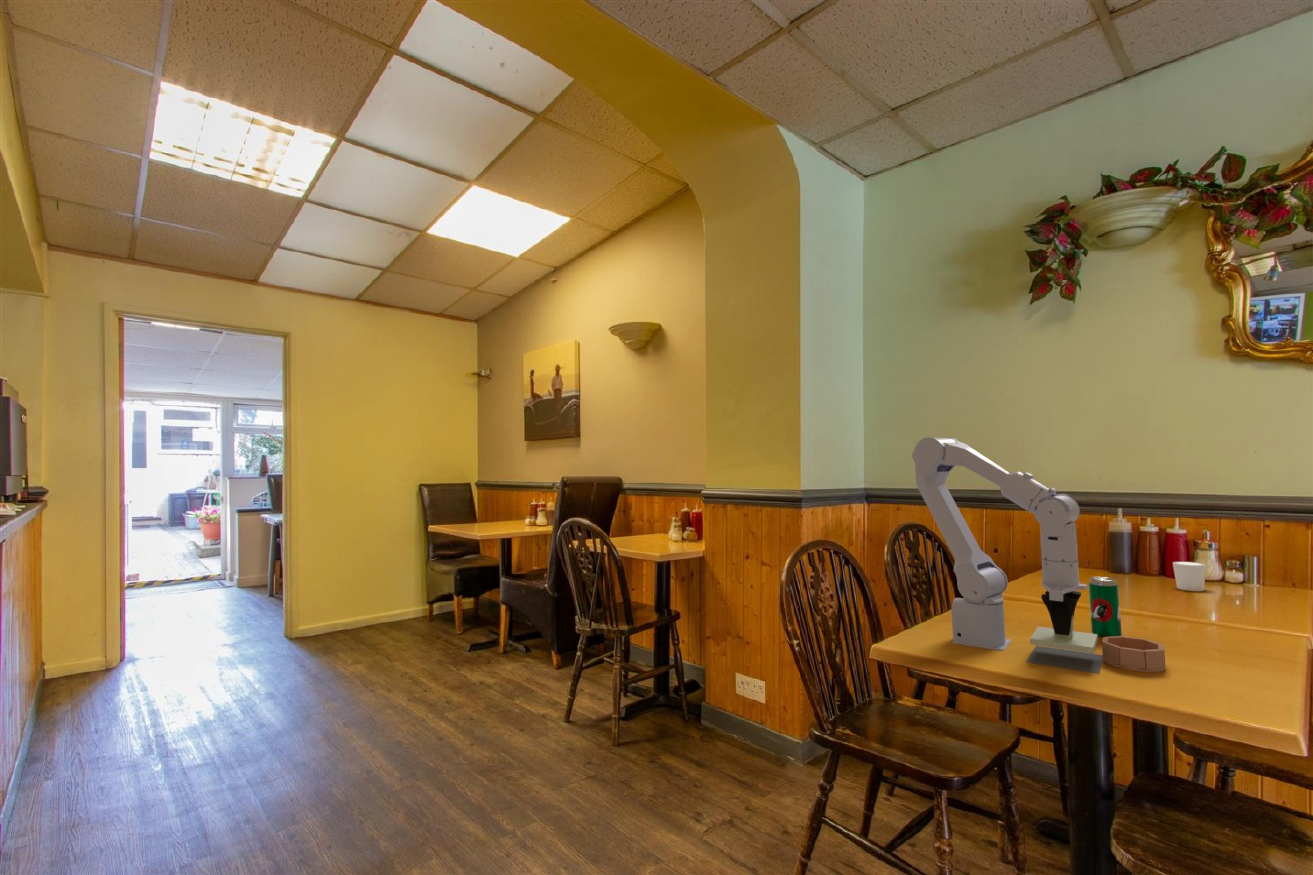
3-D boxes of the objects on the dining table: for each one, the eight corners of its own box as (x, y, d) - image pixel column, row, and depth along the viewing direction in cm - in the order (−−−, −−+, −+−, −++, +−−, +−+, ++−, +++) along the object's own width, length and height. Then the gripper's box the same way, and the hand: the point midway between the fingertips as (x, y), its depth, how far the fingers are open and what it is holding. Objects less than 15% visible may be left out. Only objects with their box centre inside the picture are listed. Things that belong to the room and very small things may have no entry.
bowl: (1102, 667, 109) (1100, 645, 109) (1105, 654, 116) (1104, 633, 116) (1165, 677, 103) (1164, 654, 103) (1165, 663, 110) (1164, 641, 110)
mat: (1026, 664, 112) (1025, 661, 112) (1036, 647, 121) (1036, 645, 121) (1099, 676, 105) (1099, 673, 105) (1104, 657, 114) (1104, 655, 114)
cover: (1030, 644, 113) (1028, 616, 113) (1038, 631, 120) (1036, 606, 120) (1093, 653, 107) (1092, 624, 107) (1097, 639, 114) (1096, 612, 114)
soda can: (1127, 640, 124) (1122, 581, 124) (1098, 639, 125) (1094, 581, 125) (1114, 632, 129) (1110, 576, 129) (1087, 632, 130) (1083, 576, 130)
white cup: (1185, 591, 163) (1183, 565, 163) (1168, 586, 170) (1166, 561, 170) (1214, 591, 162) (1212, 565, 162) (1195, 586, 169) (1194, 561, 169)
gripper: (1081, 567, 106) (1085, 645, 105) (1089, 555, 117) (1092, 626, 117) (1034, 563, 110) (1038, 639, 110) (1046, 552, 121) (1049, 620, 121)
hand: (1063, 632), depth 114 cm, fingers closed on cover, 3 cm apart
